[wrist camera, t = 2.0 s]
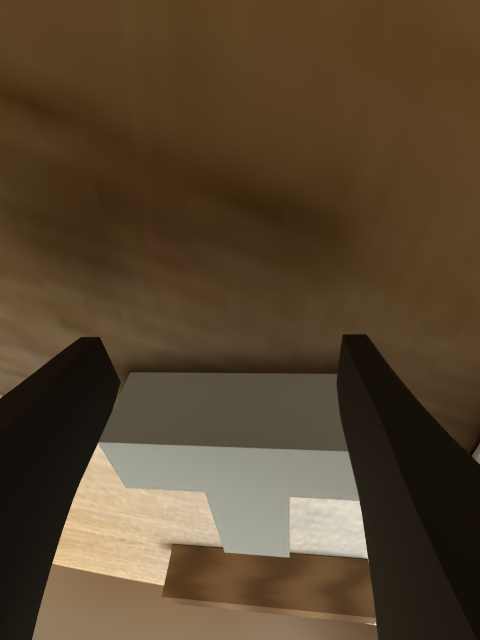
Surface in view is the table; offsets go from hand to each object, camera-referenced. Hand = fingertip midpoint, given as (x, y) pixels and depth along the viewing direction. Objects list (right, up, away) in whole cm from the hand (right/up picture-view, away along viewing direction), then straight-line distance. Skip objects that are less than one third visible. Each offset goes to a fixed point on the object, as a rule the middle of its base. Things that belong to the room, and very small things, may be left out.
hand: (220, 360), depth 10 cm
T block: (+1, -6, +10) cm, 12 cm away
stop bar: (+3, -21, +22) cm, 30 cm away
